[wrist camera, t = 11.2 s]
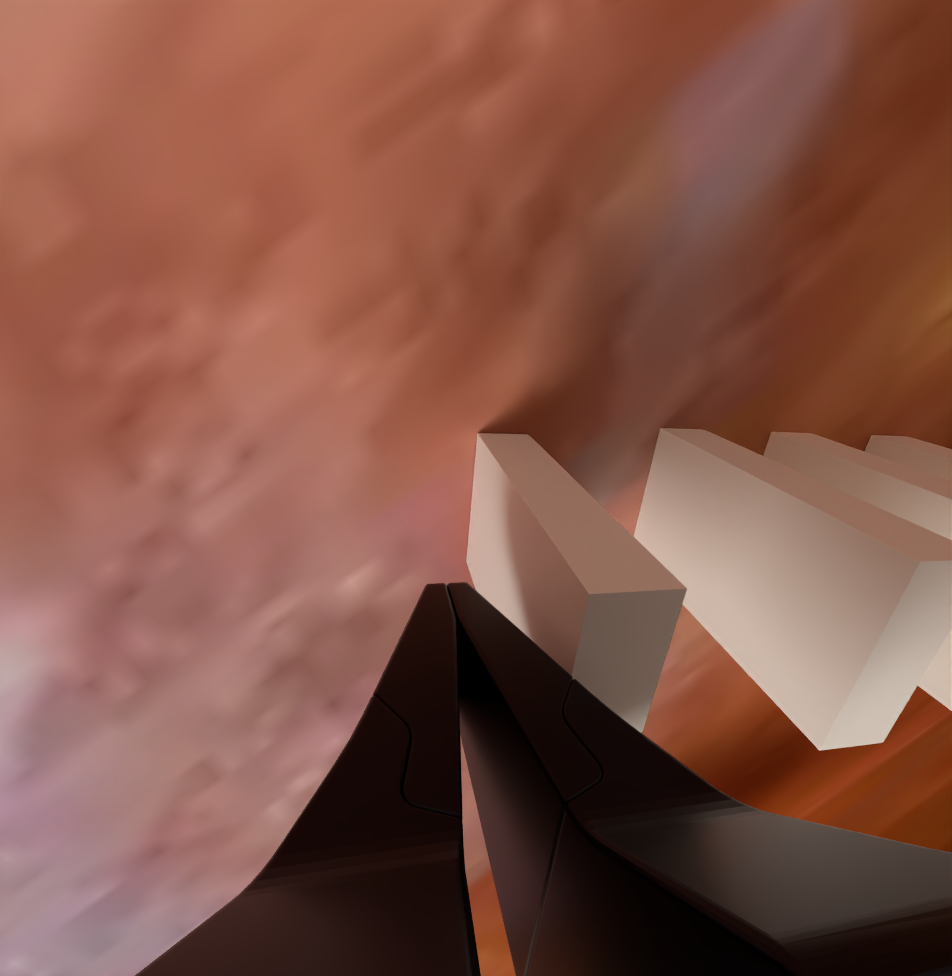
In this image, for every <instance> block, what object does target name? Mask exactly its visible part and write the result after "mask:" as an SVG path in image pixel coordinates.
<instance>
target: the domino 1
mask: <svg viewBox="0 0 952 976" xmlns="http://www.w3.org/2000/svg"><path fill="white" fill-rule="evenodd" d="M466 562H467V565H468V568H469V571H470V574H471V577H472V580H473V583H474V586H475V589H476V591H477V592H478V593H480V594H481V595H482V596H483V597H484V598H485V599H486V600H487V601H488V602H490V603H491V604H492V605H493V606H494V607H495V608H496V609H497V610H499V611H500V612H501V613H502V614H503V615H504V616H505V617H506V618H508V619H509V620H510V621H511V622H512V623H513V624H514V625H515V626H516V627H518V628H519V629H520V630H521V631H522V632H523V633H524V634H525V635H527V636H528V637H529V638H530V639H531V640H532V641H533V642H534V643H536V644H537V645H538V646H539V647H540V648H541V649H542V650H543V651H545V652H546V653H547V654H548V655H549V656H550V657H551V658H552V659H553V660H555V661H556V662H557V663H558V664H559V665H560V666H561V667H562V668H564V669H565V670H566V671H567V672H568V673H569V674H570V675H571V676H572V677H573V679H576V680H577V681H578V682H579V683H581V684H582V685H583V686H584V687H585V688H586V689H587V690H588V691H590V692H591V693H592V694H593V695H594V696H595V697H597V698H598V699H599V700H600V701H601V702H603V703H604V704H605V705H606V706H607V707H608V708H610V709H611V710H612V711H613V712H615V713H616V714H617V715H618V716H620V717H621V718H622V719H624V720H625V721H626V722H628V723H629V724H630V725H631V726H633V727H634V728H635V729H637V730H638V731H639V732H641V733H642V731H643V728H644V725H645V722H646V719H647V715H648V712H649V709H650V706H651V703H652V700H653V696H654V693H655V690H656V687H657V684H658V680H659V677H660V674H661V671H662V668H663V664H664V661H665V658H666V655H667V652H668V648H669V645H670V642H671V639H672V636H673V632H674V629H675V626H676V623H677V620H678V616H679V613H680V610H681V607H682V604H683V600H684V597H685V594H686V591H687V588H686V587H685V586H684V585H683V584H682V583H681V582H680V581H679V580H678V579H677V578H676V577H675V576H674V575H673V574H672V573H671V572H670V571H669V570H667V569H666V568H665V567H664V566H663V565H662V564H661V563H660V562H659V561H658V560H657V559H656V558H655V557H654V556H653V555H652V554H651V553H650V552H649V551H648V550H647V549H646V548H645V547H644V546H643V545H642V544H641V543H640V542H639V541H638V540H637V539H636V538H635V537H634V536H632V535H631V534H630V533H629V532H628V531H627V530H626V529H625V528H624V527H623V526H622V525H621V524H620V523H619V522H618V521H617V520H616V519H615V518H614V517H613V516H612V515H611V514H610V513H609V512H608V511H607V510H606V509H605V508H604V507H603V506H602V505H601V504H600V503H598V502H597V501H596V500H595V499H594V498H593V497H592V496H591V495H590V494H589V493H588V492H587V491H586V490H585V489H584V488H583V487H582V486H581V485H580V484H579V483H578V482H577V481H576V480H575V479H574V478H573V477H572V476H571V475H570V474H569V473H568V472H567V471H566V470H565V469H563V468H562V467H561V466H560V465H559V464H558V463H557V462H556V461H555V460H554V459H553V458H552V457H551V456H550V455H549V454H548V453H547V452H546V451H545V450H544V449H543V448H542V447H541V446H540V445H539V444H538V443H537V442H536V441H535V440H534V439H533V438H532V437H531V436H529V435H528V434H494V433H477V444H476V456H475V468H474V479H473V491H472V502H471V514H470V526H469V537H468V549H467V560H466Z"/></svg>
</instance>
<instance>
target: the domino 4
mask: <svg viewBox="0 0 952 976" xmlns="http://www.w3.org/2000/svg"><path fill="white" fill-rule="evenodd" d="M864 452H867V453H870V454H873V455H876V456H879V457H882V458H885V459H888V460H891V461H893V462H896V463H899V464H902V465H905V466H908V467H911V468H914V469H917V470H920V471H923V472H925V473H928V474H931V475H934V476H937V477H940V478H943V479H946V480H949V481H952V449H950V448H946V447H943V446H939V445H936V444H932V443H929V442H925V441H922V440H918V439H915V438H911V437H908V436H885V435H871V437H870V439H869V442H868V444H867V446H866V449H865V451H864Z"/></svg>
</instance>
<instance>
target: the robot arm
mask: <svg viewBox="0 0 952 976" xmlns="http://www.w3.org/2000/svg"><path fill="white" fill-rule="evenodd" d="M460 735H461V739H462V743H463V748H464V752H465V756H466V761H467V765H468V769H469V774H470V778H471V782H472V787H473V791H474V796H475V800H476V804H477V809H478V813H479V817H480V822H481V826H482V830H483V835H484V839H485V843H486V848H487V852H488V856H489V861H490V865H491V869H492V874H493V878H494V882H495V887H496V891H497V895H498V900H499V904H500V909H501V913H502V917H503V922H504V926H505V930H506V935H507V939H508V943H509V948H510V952H511V956H512V961H513V965H514V969H515V974H516V976H952V853H951V852H945V851H940V850H935V849H930V848H925V847H920V846H916V845H911V844H907V843H902V842H898V841H894V840H889V839H885V838H880V837H876V836H871V835H867V834H863V833H858V832H854V831H849V830H845V829H840V828H836V827H832V826H827V825H823V824H818V823H814V822H809V821H805V820H800V819H796V818H792V817H787V816H783V815H778V814H774V813H770V812H766V811H762V810H759V809H756V808H754V807H751V806H748V805H746V804H744V803H742V802H740V801H737V800H735V799H734V798H732V797H730V796H728V795H727V794H725V793H723V792H722V791H720V790H719V789H717V788H716V787H714V786H713V785H711V784H710V783H708V782H707V781H706V780H704V779H703V778H702V777H700V776H699V775H697V774H696V773H695V772H693V771H692V770H691V769H689V768H688V767H687V766H685V765H684V764H683V763H681V762H680V761H679V760H677V759H676V758H674V757H673V756H672V755H670V754H669V753H668V752H666V751H665V750H664V749H662V748H661V747H660V746H658V745H657V744H655V743H654V742H653V741H651V740H650V739H649V738H647V737H646V736H645V735H643V734H642V733H641V732H639V731H638V730H637V729H635V728H634V727H633V726H631V725H630V724H629V723H628V722H626V721H625V720H624V719H622V718H621V717H620V716H618V715H617V714H616V713H615V712H613V711H612V710H611V709H610V708H608V707H607V706H606V705H605V704H604V703H603V702H601V701H600V700H599V699H598V698H597V697H595V696H594V695H593V694H592V693H591V692H590V691H588V690H587V689H586V688H585V687H584V686H583V685H582V684H581V683H579V682H578V681H577V680H576V679H573V677H572V676H571V675H570V674H569V673H568V672H567V671H566V670H565V669H564V668H562V667H561V666H560V665H559V664H558V663H557V662H556V661H555V660H553V659H552V658H551V657H550V656H549V655H548V654H547V653H546V652H545V651H543V650H542V649H541V648H540V647H539V646H538V645H537V644H536V643H534V642H533V641H532V640H531V639H530V638H529V637H528V636H527V635H525V634H524V633H523V632H522V631H521V630H520V629H519V628H518V627H516V626H515V625H514V624H513V623H512V622H511V621H510V620H509V619H508V618H506V617H505V616H504V615H503V614H502V613H501V612H500V611H499V610H497V609H496V608H495V607H494V606H493V605H492V604H491V603H490V602H488V601H487V600H486V599H485V598H484V597H483V596H482V595H481V594H480V593H478V592H477V591H476V590H475V589H474V588H473V587H472V586H471V585H469V584H468V583H466V582H461V583H449V584H448V585H446V584H444V583H438V584H427V585H426V586H425V588H424V590H423V592H422V594H421V596H420V598H419V600H418V602H417V604H416V606H415V608H414V610H413V612H412V615H411V617H410V619H409V621H408V623H407V625H406V627H405V629H404V631H403V633H402V635H401V637H400V639H399V641H398V643H397V646H396V648H395V650H394V652H393V654H392V656H391V658H390V660H389V662H388V664H387V666H386V668H385V670H384V672H383V674H382V677H381V679H380V681H379V683H378V685H377V687H376V689H375V691H374V693H373V697H371V699H370V701H369V703H368V705H367V707H366V709H365V711H364V713H363V715H362V717H361V719H360V721H359V723H358V725H357V726H356V728H355V730H354V732H353V734H352V736H351V738H350V740H349V741H348V743H347V744H346V746H345V748H344V749H343V751H342V752H341V754H340V756H339V757H338V759H337V760H336V762H335V764H334V765H333V767H332V768H331V770H330V771H329V773H328V774H327V776H326V777H325V779H324V780H323V782H322V783H321V785H320V786H319V788H318V789H317V791H316V792H315V794H314V795H313V797H312V798H311V800H310V801H309V803H308V804H307V806H306V807H305V809H304V810H303V812H302V813H301V815H300V816H299V818H298V819H297V821H296V822H295V824H294V825H293V827H292V828H291V830H290V831H289V833H288V834H287V836H286V837H285V839H284V840H283V842H282V843H281V845H280V846H279V848H278V849H277V851H276V852H275V853H274V855H273V856H272V858H271V859H270V860H269V862H268V863H267V864H266V866H265V867H264V868H263V869H262V871H261V872H260V873H259V874H258V875H257V876H256V878H255V879H254V880H253V881H252V882H251V883H250V884H249V885H248V886H247V887H246V888H245V889H244V890H243V891H242V892H241V893H240V894H239V895H238V896H237V897H235V898H234V899H233V900H232V901H230V902H229V903H228V904H227V905H225V906H224V907H223V908H221V909H220V910H219V911H218V912H216V913H215V914H214V915H212V916H211V917H210V918H209V919H207V920H206V921H205V922H203V923H202V924H201V925H200V926H198V927H197V928H196V929H194V930H193V931H192V932H191V933H189V934H188V935H187V936H185V937H184V938H183V939H182V940H180V941H179V942H178V943H176V944H175V945H174V946H172V947H171V948H170V949H169V950H167V951H166V952H165V953H163V954H162V955H161V956H160V957H158V958H157V959H156V960H154V961H153V962H152V963H151V964H149V965H148V966H147V967H145V968H144V969H143V970H142V971H140V972H139V973H138V974H136V975H135V976H481V975H480V968H479V961H478V954H477V947H476V941H475V934H474V927H473V920H472V913H471V907H470V900H469V893H468V886H467V879H466V873H465V863H464V848H463V825H462V784H461V747H460Z"/></svg>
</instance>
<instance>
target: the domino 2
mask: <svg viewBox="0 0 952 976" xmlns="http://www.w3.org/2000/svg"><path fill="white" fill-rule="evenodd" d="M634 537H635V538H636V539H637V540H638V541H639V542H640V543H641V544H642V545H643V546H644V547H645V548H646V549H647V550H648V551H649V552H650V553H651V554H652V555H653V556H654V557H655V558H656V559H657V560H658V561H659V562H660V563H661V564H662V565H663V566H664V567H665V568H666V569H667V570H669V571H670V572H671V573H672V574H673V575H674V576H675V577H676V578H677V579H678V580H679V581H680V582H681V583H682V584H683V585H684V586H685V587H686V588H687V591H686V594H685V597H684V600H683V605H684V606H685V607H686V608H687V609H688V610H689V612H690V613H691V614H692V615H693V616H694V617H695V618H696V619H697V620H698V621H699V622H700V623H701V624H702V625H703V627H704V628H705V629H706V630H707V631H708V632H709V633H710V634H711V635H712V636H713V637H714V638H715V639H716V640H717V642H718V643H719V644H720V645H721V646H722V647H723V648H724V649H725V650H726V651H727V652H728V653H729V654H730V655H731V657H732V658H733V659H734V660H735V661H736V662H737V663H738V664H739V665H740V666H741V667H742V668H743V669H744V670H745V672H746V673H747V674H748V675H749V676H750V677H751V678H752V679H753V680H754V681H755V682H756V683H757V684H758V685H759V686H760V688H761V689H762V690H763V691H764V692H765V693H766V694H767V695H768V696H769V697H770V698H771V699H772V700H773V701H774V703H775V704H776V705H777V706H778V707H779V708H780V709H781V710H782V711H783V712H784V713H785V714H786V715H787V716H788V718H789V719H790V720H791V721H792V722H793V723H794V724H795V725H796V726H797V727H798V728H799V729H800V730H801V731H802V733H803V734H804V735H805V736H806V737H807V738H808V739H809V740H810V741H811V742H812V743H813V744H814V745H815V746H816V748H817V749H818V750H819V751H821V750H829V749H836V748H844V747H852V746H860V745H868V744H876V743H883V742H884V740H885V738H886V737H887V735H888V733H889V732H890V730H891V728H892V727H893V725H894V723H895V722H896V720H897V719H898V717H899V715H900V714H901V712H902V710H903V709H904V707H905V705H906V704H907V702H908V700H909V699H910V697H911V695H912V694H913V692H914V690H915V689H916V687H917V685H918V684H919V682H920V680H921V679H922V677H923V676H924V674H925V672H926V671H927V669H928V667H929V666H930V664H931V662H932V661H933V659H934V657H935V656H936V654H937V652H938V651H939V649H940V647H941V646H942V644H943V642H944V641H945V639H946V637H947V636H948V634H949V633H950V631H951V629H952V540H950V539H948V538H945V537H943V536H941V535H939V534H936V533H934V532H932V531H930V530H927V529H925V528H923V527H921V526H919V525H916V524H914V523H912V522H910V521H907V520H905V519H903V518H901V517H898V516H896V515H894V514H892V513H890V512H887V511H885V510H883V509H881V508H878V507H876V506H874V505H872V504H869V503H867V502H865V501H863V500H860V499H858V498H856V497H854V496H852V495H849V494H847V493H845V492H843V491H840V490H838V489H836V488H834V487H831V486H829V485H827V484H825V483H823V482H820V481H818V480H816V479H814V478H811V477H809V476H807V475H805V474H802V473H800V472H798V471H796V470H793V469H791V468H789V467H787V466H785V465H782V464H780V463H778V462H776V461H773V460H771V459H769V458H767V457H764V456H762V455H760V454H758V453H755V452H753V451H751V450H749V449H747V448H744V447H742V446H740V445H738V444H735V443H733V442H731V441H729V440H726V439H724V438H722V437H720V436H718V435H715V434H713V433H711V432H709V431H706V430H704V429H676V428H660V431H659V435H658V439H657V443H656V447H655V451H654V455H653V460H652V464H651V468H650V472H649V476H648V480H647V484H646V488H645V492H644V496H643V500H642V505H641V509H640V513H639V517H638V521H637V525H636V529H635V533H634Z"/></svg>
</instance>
